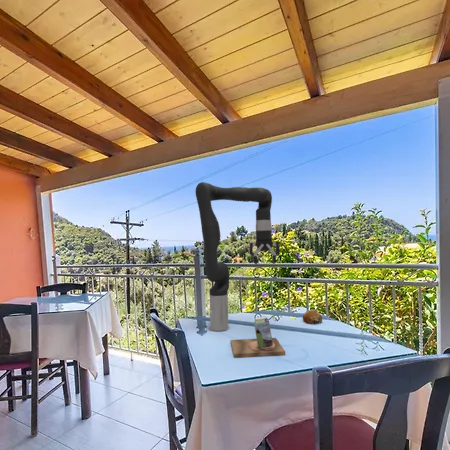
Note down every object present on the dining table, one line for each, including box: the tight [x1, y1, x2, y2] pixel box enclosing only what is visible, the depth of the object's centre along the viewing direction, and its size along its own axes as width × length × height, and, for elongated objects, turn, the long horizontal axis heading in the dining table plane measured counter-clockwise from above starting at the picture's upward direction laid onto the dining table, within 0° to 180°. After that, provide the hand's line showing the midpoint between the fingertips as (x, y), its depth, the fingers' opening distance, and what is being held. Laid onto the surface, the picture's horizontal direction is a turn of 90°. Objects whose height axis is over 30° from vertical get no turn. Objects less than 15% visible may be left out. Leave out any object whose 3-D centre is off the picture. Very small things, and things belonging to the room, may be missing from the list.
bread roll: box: [302, 309, 323, 325], centre depth 163 cm, size 10×10×8 cm
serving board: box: [230, 337, 286, 359], centre depth 126 cm, size 20×16×2 cm
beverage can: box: [253, 316, 273, 349], centre depth 123 cm, size 6×7×12 cm
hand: (264, 263), depth 146 cm, fingers open, 8 cm apart
